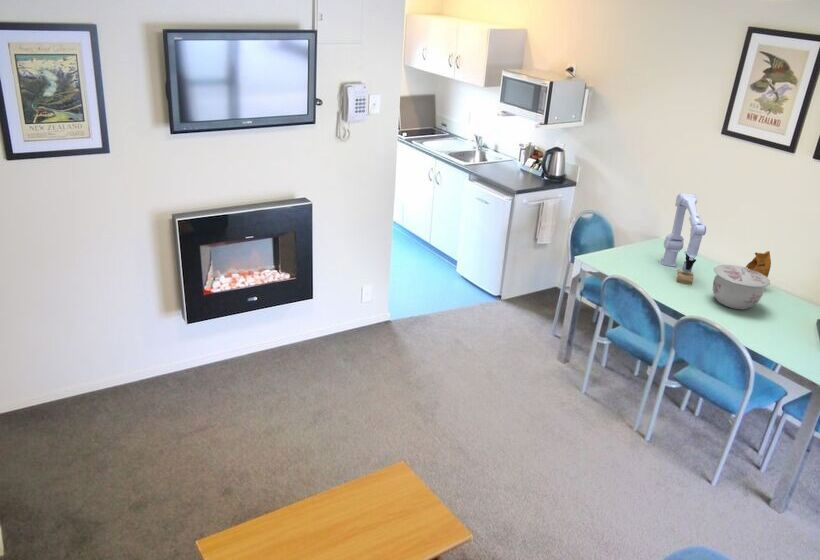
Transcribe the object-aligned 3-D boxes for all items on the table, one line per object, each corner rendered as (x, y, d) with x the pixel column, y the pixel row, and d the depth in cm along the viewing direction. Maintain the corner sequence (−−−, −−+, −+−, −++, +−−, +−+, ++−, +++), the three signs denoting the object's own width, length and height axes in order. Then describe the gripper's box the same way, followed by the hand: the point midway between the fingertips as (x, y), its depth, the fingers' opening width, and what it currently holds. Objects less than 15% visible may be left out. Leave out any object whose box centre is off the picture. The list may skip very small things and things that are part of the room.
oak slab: (677, 273, 382) (678, 269, 381) (691, 276, 380) (692, 272, 379) (677, 278, 375) (678, 274, 374) (692, 281, 373) (693, 277, 372)
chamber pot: (728, 317, 340) (740, 280, 331) (694, 293, 364) (704, 258, 355) (773, 314, 348) (786, 278, 339) (737, 291, 371) (748, 257, 363)
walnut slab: (676, 277, 383) (677, 273, 382) (691, 280, 381) (692, 276, 380) (676, 282, 376) (677, 278, 375) (691, 286, 374) (692, 282, 373)
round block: (682, 267, 379) (684, 260, 377) (691, 269, 377) (693, 262, 375) (681, 270, 375) (683, 263, 373) (690, 272, 373) (693, 265, 371)
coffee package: (735, 285, 379) (747, 249, 370) (751, 283, 384) (763, 247, 375) (749, 292, 371) (761, 256, 362) (766, 290, 376) (778, 254, 366)
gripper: (686, 239, 377) (680, 262, 383) (686, 248, 364) (680, 270, 370) (699, 242, 375) (693, 264, 380) (700, 250, 362) (693, 273, 368)
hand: (687, 267), depth 375 cm, fingers closed on round block, 5 cm apart
